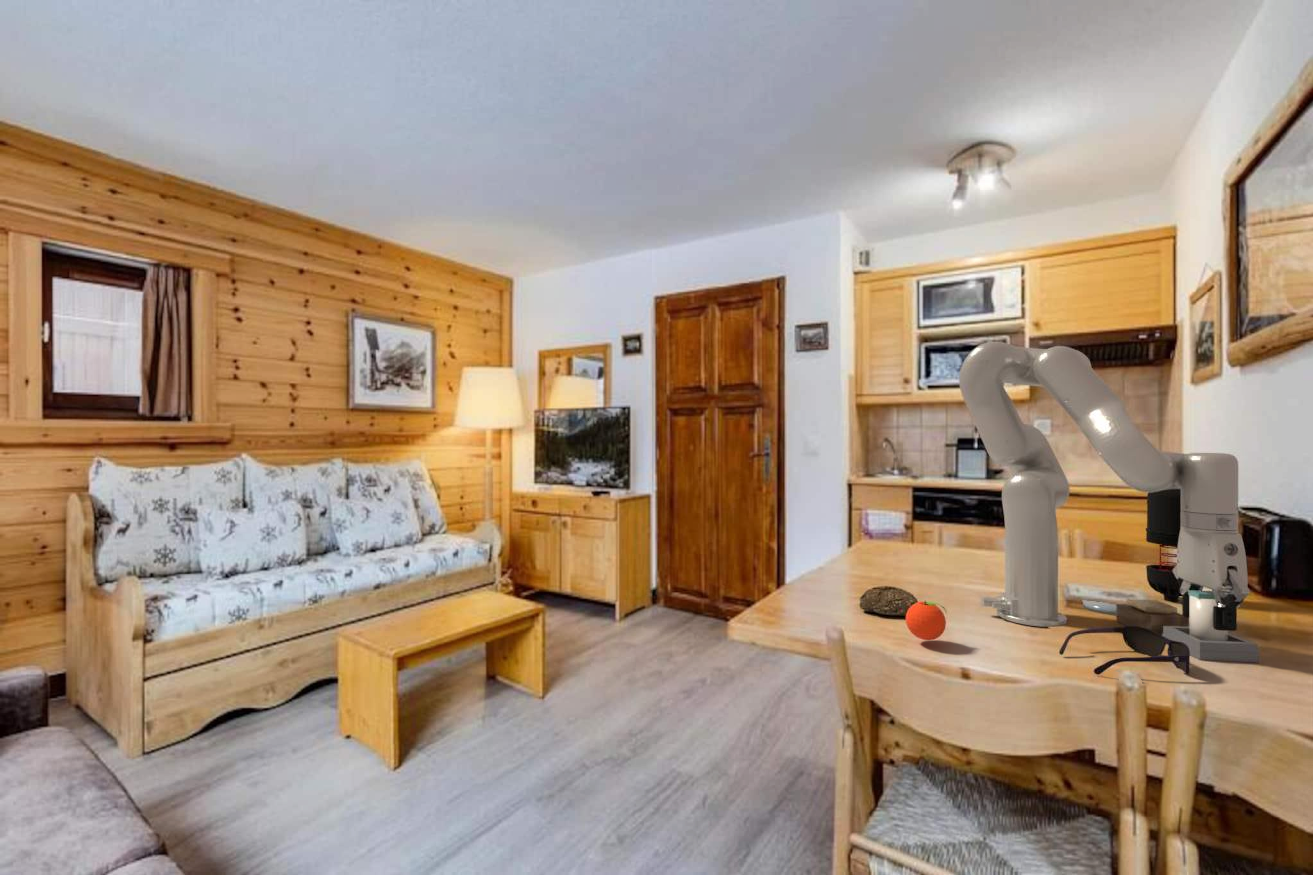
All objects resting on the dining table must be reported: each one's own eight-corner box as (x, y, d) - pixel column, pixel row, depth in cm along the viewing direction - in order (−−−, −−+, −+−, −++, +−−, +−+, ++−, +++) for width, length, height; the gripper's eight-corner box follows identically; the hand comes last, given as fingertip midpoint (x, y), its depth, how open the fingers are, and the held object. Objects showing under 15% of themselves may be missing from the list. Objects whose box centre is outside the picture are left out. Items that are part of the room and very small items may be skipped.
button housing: (1142, 633, 115) (1142, 615, 115) (1116, 620, 123) (1116, 603, 123) (1188, 635, 114) (1188, 617, 114) (1159, 622, 122) (1159, 605, 122)
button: (1145, 623, 116) (1145, 606, 116) (1126, 615, 121) (1126, 599, 121) (1177, 625, 115) (1177, 608, 115) (1156, 616, 121) (1156, 600, 121)
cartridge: (1203, 647, 103) (1203, 595, 103) (1182, 637, 108) (1182, 588, 108) (1235, 648, 103) (1236, 596, 102) (1212, 639, 107) (1212, 589, 107)
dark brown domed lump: (911, 602, 138) (911, 580, 138) (926, 618, 126) (926, 594, 126) (854, 599, 140) (854, 578, 140) (863, 614, 128) (863, 591, 128)
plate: (1099, 614, 127) (1099, 609, 127) (1073, 601, 137) (1073, 596, 137) (1150, 616, 126) (1150, 611, 126) (1120, 603, 136) (1120, 598, 136)
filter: (1210, 609, 131) (1210, 473, 131) (1161, 606, 133) (1161, 473, 133) (1173, 593, 144) (1173, 470, 144) (1129, 591, 146) (1129, 469, 146)
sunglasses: (1206, 680, 94) (1206, 649, 94) (1108, 681, 93) (1108, 650, 93) (1135, 649, 107) (1135, 622, 107) (1049, 650, 107) (1049, 622, 107)
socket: (1199, 659, 101) (1199, 642, 101) (1162, 641, 110) (1162, 625, 110) (1258, 662, 100) (1259, 644, 100) (1216, 643, 109) (1216, 627, 109)
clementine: (935, 631, 116) (935, 595, 116) (959, 643, 109) (959, 605, 109) (898, 634, 115) (898, 597, 115) (919, 646, 108) (920, 607, 108)
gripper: (1276, 530, 96) (1276, 641, 96) (1194, 516, 113) (1194, 610, 113) (1224, 529, 97) (1224, 639, 97) (1151, 515, 114) (1151, 608, 114)
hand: (1208, 622), depth 105 cm, fingers open, 6 cm apart
